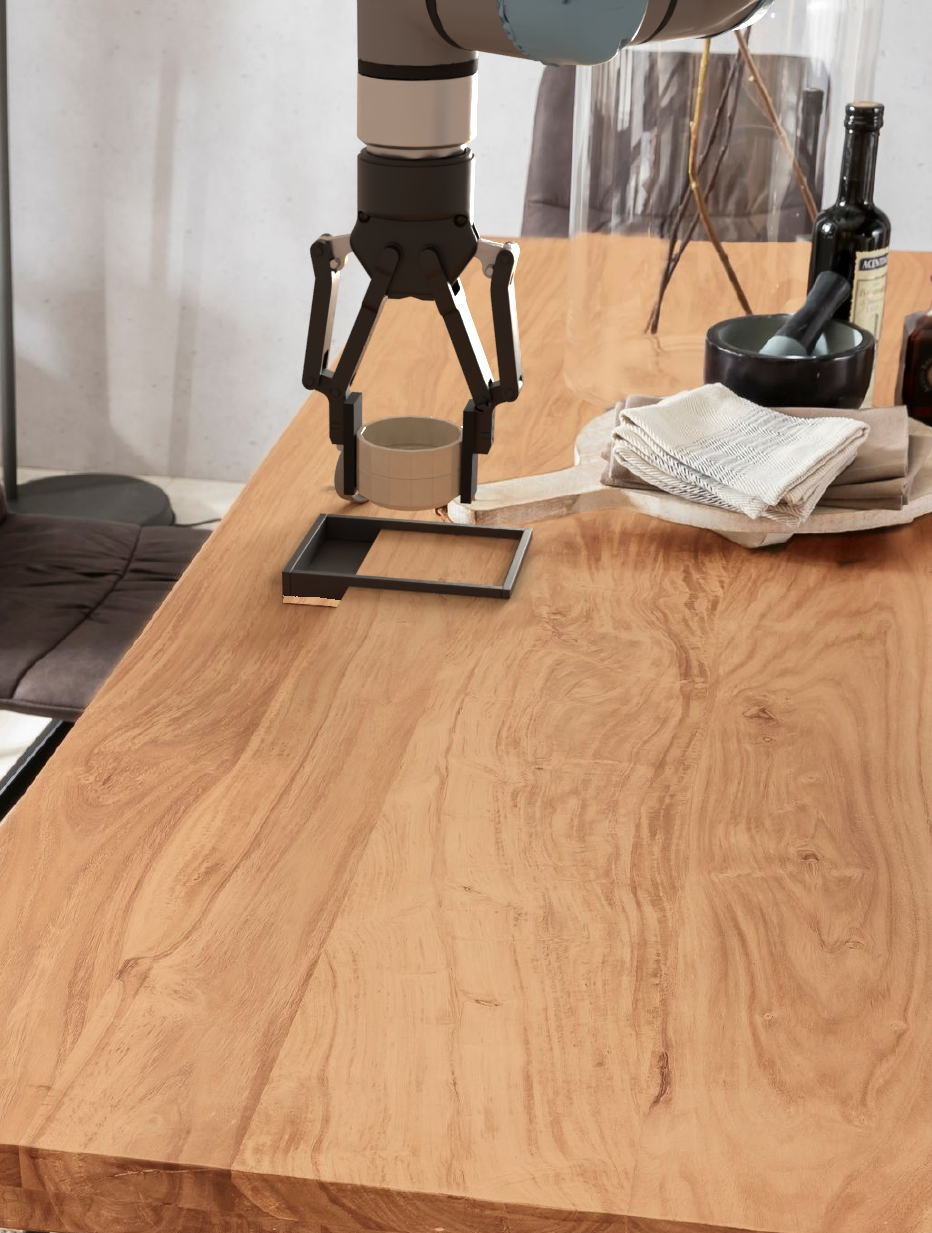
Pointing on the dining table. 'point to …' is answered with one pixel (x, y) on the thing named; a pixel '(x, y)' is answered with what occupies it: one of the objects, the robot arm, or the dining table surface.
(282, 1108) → the dining table surface
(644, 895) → the dining table surface
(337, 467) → the wristwatch
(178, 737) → the dining table surface
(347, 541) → the tray frame
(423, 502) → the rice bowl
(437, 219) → the robot arm
